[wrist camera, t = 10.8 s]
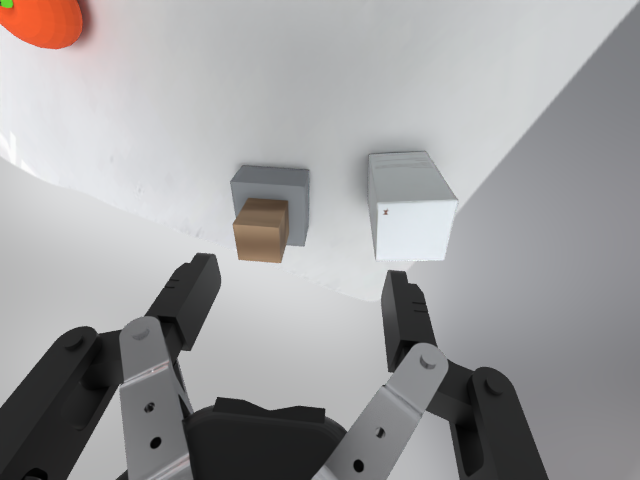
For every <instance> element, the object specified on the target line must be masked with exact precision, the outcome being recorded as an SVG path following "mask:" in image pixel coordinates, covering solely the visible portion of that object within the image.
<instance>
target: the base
mask: <svg viewBox="0 0 640 480" xmlns="http://www.w3.org/2000/svg"><path fill="white" fill-rule="evenodd" d="M230 184H231V190H232V196H233V202H234V209H235V215H236V218H237V216H238V214H239V213H240V211H241V209H242V207H243V206H244V204H245V202H246V201H247V199H248V198H258V199H272V200H286V201H288V211H289V236H288V240H287V243H286V245H291V246H305V241H306V236H307V231H308V222H309V170H302V169H287V168H272V167H257V166H242V167H241V168H240V169H239V171H238V172H237V173H236V175H235V176H234V177H233V179H232V180H231V181H230Z"/></svg>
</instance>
